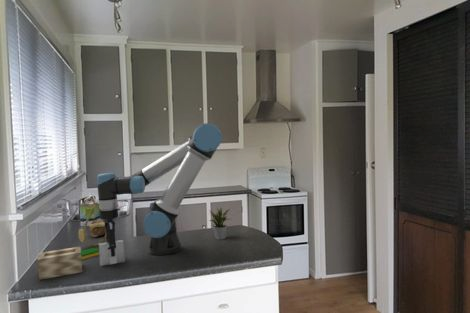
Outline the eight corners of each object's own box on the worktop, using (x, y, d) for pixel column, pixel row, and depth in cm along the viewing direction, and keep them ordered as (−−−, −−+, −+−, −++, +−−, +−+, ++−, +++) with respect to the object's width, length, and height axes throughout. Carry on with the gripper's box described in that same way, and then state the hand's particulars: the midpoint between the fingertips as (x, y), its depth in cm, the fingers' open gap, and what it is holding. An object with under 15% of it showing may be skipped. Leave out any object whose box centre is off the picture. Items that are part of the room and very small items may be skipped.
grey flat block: (124, 259, 161) (122, 239, 161) (124, 261, 159) (123, 241, 158) (100, 264, 157) (98, 243, 157) (100, 266, 155) (98, 245, 154)
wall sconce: (86, 250, 179) (82, 200, 178) (78, 247, 186) (74, 199, 185) (112, 243, 189) (109, 196, 188) (104, 241, 196) (100, 194, 195)
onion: (92, 242, 206) (82, 228, 204) (100, 234, 215) (91, 220, 212) (105, 237, 203) (95, 222, 201) (113, 228, 212) (104, 214, 210)
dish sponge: (102, 254, 173) (101, 249, 173) (74, 263, 162) (73, 257, 162) (94, 252, 177) (93, 247, 177) (66, 260, 167) (65, 255, 167)
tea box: (95, 226, 236) (94, 203, 235) (80, 226, 236) (78, 204, 235) (104, 220, 251) (102, 199, 250) (89, 221, 251) (88, 200, 250)
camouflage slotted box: (81, 264, 158) (80, 246, 158) (82, 271, 148) (80, 252, 148) (41, 271, 152) (39, 252, 151) (39, 279, 142) (37, 259, 142)
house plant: (240, 239, 183) (238, 207, 182) (213, 243, 178) (211, 210, 177) (230, 233, 196) (228, 203, 196) (205, 237, 192) (203, 206, 191)
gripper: (97, 206, 166) (101, 254, 167) (100, 214, 145) (105, 269, 146) (115, 204, 169) (118, 251, 170) (120, 211, 148) (124, 265, 149)
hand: (112, 260), depth 158 cm, fingers open, 10 cm apart
